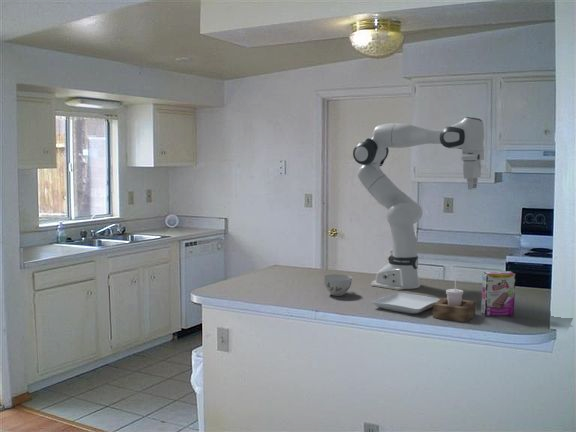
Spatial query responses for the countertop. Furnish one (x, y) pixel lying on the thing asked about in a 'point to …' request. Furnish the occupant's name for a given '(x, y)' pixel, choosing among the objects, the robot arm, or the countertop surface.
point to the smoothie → (454, 296)
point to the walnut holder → (454, 310)
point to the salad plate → (405, 302)
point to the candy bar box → (498, 293)
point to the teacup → (337, 283)
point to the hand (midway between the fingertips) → (472, 188)
